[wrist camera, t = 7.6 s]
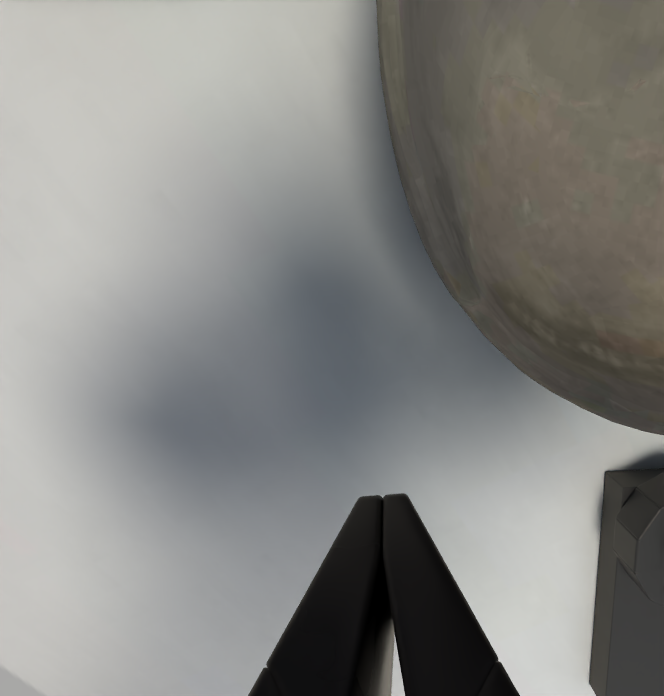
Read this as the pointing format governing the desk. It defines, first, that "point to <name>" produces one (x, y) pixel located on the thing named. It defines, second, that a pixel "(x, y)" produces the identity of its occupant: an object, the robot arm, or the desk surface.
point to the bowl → (541, 182)
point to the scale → (630, 587)
